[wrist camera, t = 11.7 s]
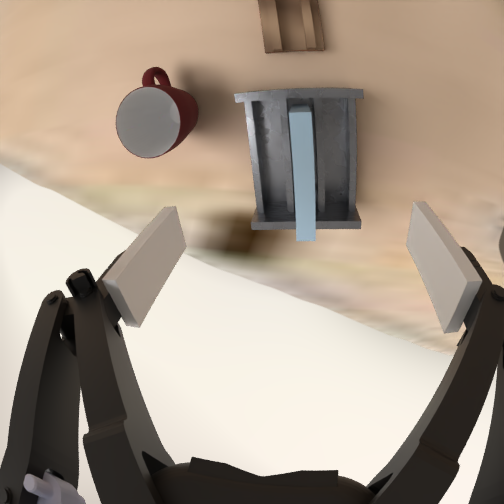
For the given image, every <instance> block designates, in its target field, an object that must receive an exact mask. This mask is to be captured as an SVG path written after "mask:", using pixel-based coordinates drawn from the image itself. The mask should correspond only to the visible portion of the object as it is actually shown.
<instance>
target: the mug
mask: <svg viewBox="0 0 504 504" xmlns="http://www.w3.org/2000/svg"><path fill="white" fill-rule="evenodd" d="M154 76H155V77H156V78H157V80H158V81H159V83H160V85H156V84H155V81H154ZM142 84H143V87H140V88H137V89H135V90H133V91H132V92H130V93H129V94H128V95H127V96H126V97H125V98H124V99H123V101H122V102H121V104H120V106H119V108H118V111H117V115H116V129H117V134H118V136H119V139H120V141H121V142H122V144H123V145H124V147H125V148H126V149H127V150H128V151H129V152H131V153H132V154H134V155H136V156H138V157H141V158H155V157H159V156H161V155H163V154H165V153H167V152H169V151H171V150H172V149H174V148H175V147H177V146H178V145H179V144H180V143H181V142H182V141H183V140H184V139H185V138H186V137H187V135H188V134H189V133H190V132H191V131H192V129H193V128H194V126H195V125H196V122H197V119H198V106H197V103H196V101H195V100H194V98H193V97H192V96H191V95H190V94H188V93H187V92H185V91H183V90H180V89H177V88H173V87H171V84H170V81H169V78H168V75H167V74H166V72H165V71H164V70H163V69H161V68H159V67H153V68H150V69H148V70H147V71H146V72H145V73H144V75H143V78H142Z"/></svg>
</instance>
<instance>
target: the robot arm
mask: <svg viewBox="0 0 504 504" xmlns="http://www.w3.org/2000/svg"><path fill="white" fill-rule="evenodd" d="M406 246H407V248H408V250H409V252H410V254H411V256H412V258H413V260H414V262H415V264H416V266H417V269H418V271H419V273H420V275H421V277H422V280H423V282H424V284H425V286H426V289H427V291H428V293H429V296H430V298H431V301H432V303H433V306H434V308H435V311H436V313H437V316H438V318H439V321H440V324H441V327H442V329H443V332H444V333H451V332H458V331H459V329H460V327H461V325H462V323H463V321H464V324H465V326H466V330H465V332H464V334H463V336H462V337H461V339H460V341H459V342H458V344H457V346H458V348H457V350H456V352H455V355H454V357H453V359H452V361H451V363H450V365H449V367H448V370H447V371H446V373H445V376H444V378H443V380H442V381H441V383H440V385H439V387H438V389H437V391H436V392H435V394H434V396H433V398H432V400H431V401H430V403H429V405H428V406H427V408H426V410H425V411H424V413H423V415H422V416H421V418H420V419H419V421H418V423H417V424H416V426H415V427H414V429H413V430H412V432H411V433H410V435H409V436H408V437H407V439H406V440H405V442H404V443H403V444H402V446H401V447H400V448H399V450H398V451H397V452H396V454H395V455H394V456H393V458H392V459H391V460H390V462H389V463H388V464H387V465H386V466H385V467H384V468H383V469H382V470H381V471H380V472H379V473H378V474H377V475H376V477H374V478H373V480H372V481H371V482H370V483H369V484H368V485H367V486H366V487H365V486H364V485H362V484H361V483H359V482H357V481H354V480H352V479H349V478H346V477H342V476H338V470H329V471H328V470H327V471H303V470H302V471H296V472H291V473H285V474H278V475H271V476H265V477H264V476H258V475H255V474H252V473H249V472H246V471H243V470H241V469H238V468H236V467H233V466H231V465H228V464H226V463H220V462H215V461H210V460H204V459H200V458H196V457H192V458H191V462H190V463H180V464H176V465H175V463H174V461H173V460H172V458H171V457H170V456H169V454H168V453H167V452H166V451H165V449H164V447H163V445H162V443H161V441H160V439H159V437H158V434H157V432H156V430H155V427H154V425H153V422H152V420H151V417H150V415H149V413H148V410H147V408H146V405H145V402H144V400H143V397H142V394H141V391H140V388H139V386H138V383H137V380H136V377H135V374H134V371H133V368H132V365H131V362H130V358H129V355H128V352H127V348H126V345H125V341H124V338H123V334H122V330H121V327H120V325H119V324H118V321H119V320H120V318H121V317H122V319H123V320H124V322H125V324H126V326H132V327H140V326H141V324H142V322H143V321H144V319H145V317H146V315H147V313H148V311H149V310H150V308H151V306H152V304H153V303H154V301H155V299H156V297H157V296H158V294H159V292H160V291H161V289H162V287H163V285H164V284H165V282H166V280H167V279H168V277H169V275H170V273H171V272H172V270H173V268H174V267H175V265H176V263H177V262H178V260H179V258H180V257H181V255H182V254H183V252H184V250H185V249H186V247H187V246H186V243H185V239H184V235H183V231H182V228H181V224H180V220H179V216H178V212H177V208H176V206H172V207H164V208H163V209H162V210H161V211H160V212H159V213H158V214H157V216H156V217H155V218H154V219H153V220H152V221H151V222H150V223H149V224H148V225H147V227H146V228H145V229H144V230H143V231H142V232H141V233H140V234H139V236H138V237H137V238H136V239H135V240H134V241H133V243H132V244H131V245H130V246H129V247H128V248H127V250H125V251H124V252H122V253H121V254H119V255H118V256H117V257H116V258H115V259H114V261H113V262H112V263H111V264H110V266H109V267H108V269H106V270H105V272H104V273H103V274H102V275H101V276H100V278H99V279H98V280H97V281H96V282H95V280H94V278H93V276H92V274H91V272H90V270H89V269H87V268H86V269H80V270H78V271H76V272H74V273H73V274H71V275H70V276H69V278H68V279H67V280H66V285H67V287H68V289H69V290H70V292H71V294H72V296H73V297H69V298H65V296H64V294H63V293H62V291H60V290H56V291H53V292H51V293H50V294H48V295H47V296H46V297H45V299H44V300H43V302H42V304H41V307H40V309H39V312H38V315H37V317H36V320H35V323H34V326H33V329H32V332H31V335H30V338H29V341H28V344H27V348H26V351H25V355H24V358H23V362H22V366H21V370H20V374H19V378H18V382H17V387H16V391H15V396H14V401H13V407H12V413H11V419H10V426H9V435H8V444H7V449H6V452H5V455H4V458H3V461H2V464H1V468H0V504H86V503H85V500H84V498H83V497H82V496H80V495H79V494H78V492H77V488H78V478H79V452H78V427H79V403H80V389H81V391H82V397H83V402H84V408H85V413H86V418H87V422H88V426H89V432H88V433H87V434H84V436H83V445H84V449H85V453H86V457H87V460H88V464H89V468H90V471H91V474H92V478H93V481H94V483H95V486H96V490H97V492H98V495H99V498H100V501H101V503H102V504H438V503H439V502H440V500H441V499H442V497H443V496H444V494H445V493H446V491H447V490H448V488H449V487H450V485H451V483H452V482H453V480H454V478H455V477H456V475H457V473H458V471H459V466H460V465H459V463H458V459H459V457H460V454H461V453H462V451H463V448H464V447H465V445H466V443H467V441H468V439H469V437H470V435H471V433H472V431H473V428H474V426H475V424H476V422H477V419H478V417H479V415H480V412H481V410H482V407H483V405H484V402H485V400H486V397H487V394H488V391H489V389H490V386H491V383H492V380H493V377H494V374H495V370H496V367H498V368H497V380H496V391H495V399H494V407H493V414H492V420H491V425H490V430H489V436H488V440H487V445H486V449H485V453H484V456H483V460H482V464H481V467H480V471H479V474H478V477H477V480H476V483H475V486H474V489H473V492H472V495H471V498H470V501H469V504H504V288H502V287H501V286H498V285H493V284H492V283H491V281H490V280H489V278H488V276H487V275H486V273H485V272H484V270H483V269H482V267H480V264H479V263H478V261H477V260H476V258H475V257H474V255H473V254H472V253H471V252H470V251H469V250H467V249H466V248H465V247H460V246H459V244H458V243H457V242H456V240H455V239H454V237H453V236H452V235H451V233H450V232H449V231H448V229H447V228H446V227H445V225H444V224H443V223H442V222H441V220H440V219H439V218H438V216H437V215H436V214H435V213H434V211H433V210H432V209H431V208H430V207H429V205H428V204H427V203H426V202H420V201H413V207H412V214H411V220H410V226H409V232H408V237H407V243H406ZM60 333H61V334H62V339H61V337H60ZM497 364H498V365H497Z"/></svg>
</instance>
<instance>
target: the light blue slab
mask: <svg viewBox="0 0 504 504" xmlns="http://www.w3.org/2000/svg"><path fill="white" fill-rule="evenodd" d="M289 121H290V133H291V146H292V160H293V175H294V192H295V211H296V235H297V241H315V236H316V225H315V172H314V148H313V130H312V115H311V110H310V108H309V106H308V104H292V107H291V109H290V111H289Z"/></svg>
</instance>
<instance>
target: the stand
mask: <svg viewBox="0 0 504 504" xmlns="http://www.w3.org/2000/svg"><path fill="white" fill-rule="evenodd" d="M258 4H259V11H260V18H261V25H262V32H263V39H264V47H265V53H274V52H289V51H324V42H323V34H322V27H321V20H320V13H319V7H318V1H317V0H258Z"/></svg>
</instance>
